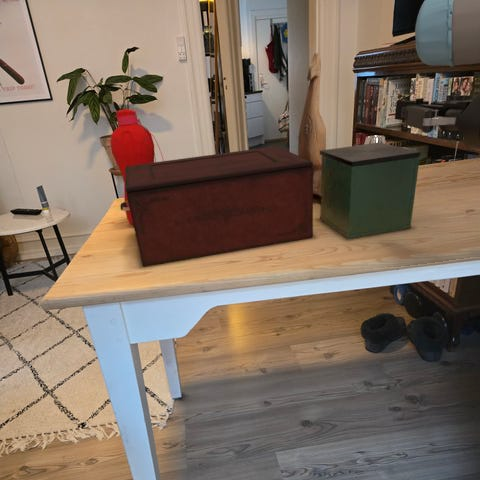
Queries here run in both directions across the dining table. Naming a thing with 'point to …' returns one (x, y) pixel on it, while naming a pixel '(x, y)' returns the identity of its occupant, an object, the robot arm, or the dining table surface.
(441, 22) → the robot arm
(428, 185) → the dining table surface
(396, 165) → the green cube bin
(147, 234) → the storage box
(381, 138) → the wineglass
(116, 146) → the water bottle
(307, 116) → the bird sculpture
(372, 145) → the black flat panel
